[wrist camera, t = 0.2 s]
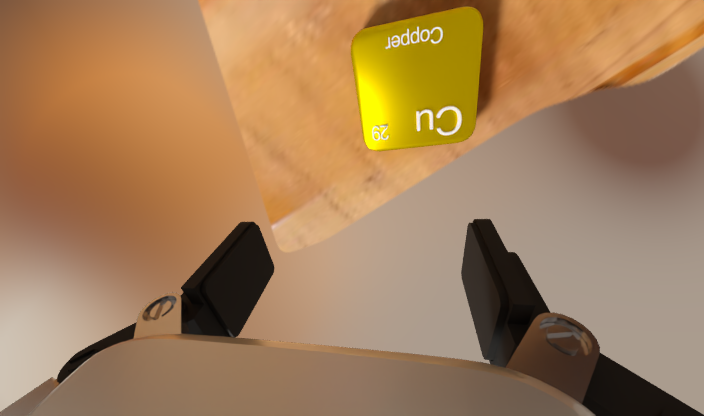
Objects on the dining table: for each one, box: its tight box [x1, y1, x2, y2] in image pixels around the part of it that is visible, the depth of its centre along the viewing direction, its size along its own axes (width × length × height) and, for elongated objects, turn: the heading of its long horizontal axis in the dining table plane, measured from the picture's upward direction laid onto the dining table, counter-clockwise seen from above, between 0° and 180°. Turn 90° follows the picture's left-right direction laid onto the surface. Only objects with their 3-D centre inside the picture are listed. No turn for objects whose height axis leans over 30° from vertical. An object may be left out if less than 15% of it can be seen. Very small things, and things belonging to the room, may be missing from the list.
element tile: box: [351, 7, 483, 151], centre depth 33 cm, size 15×15×5 cm
